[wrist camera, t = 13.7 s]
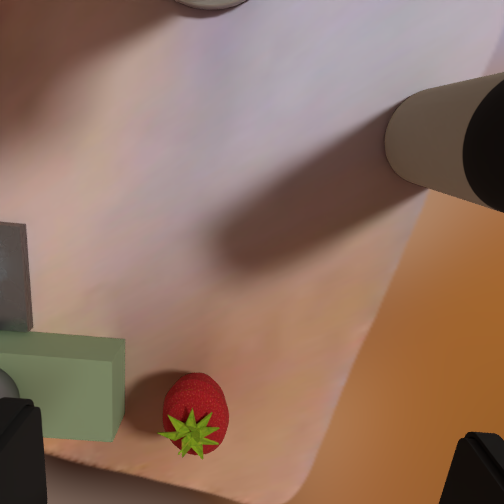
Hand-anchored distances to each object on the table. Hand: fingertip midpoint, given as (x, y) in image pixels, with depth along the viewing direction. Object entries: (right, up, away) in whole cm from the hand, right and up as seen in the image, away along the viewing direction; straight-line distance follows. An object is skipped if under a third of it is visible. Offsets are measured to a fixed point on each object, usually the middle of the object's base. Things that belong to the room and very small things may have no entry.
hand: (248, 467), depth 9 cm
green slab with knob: (-25, -7, +31) cm, 41 cm away
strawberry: (-5, -8, +32) cm, 34 cm away
